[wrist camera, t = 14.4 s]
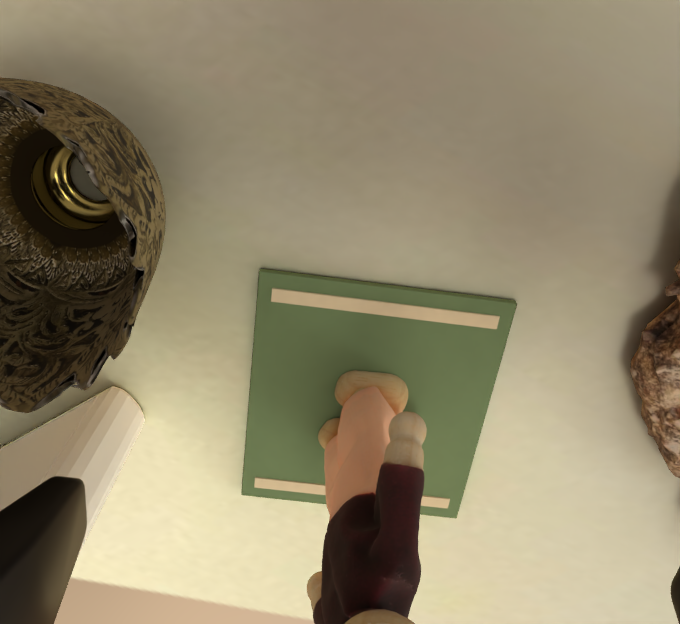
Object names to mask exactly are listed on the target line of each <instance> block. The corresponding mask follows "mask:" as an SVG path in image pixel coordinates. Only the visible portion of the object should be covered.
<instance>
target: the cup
mask: <svg viewBox="0 0 680 624" xmlns="http://www.w3.org/2000/svg"><path fill="white" fill-rule="evenodd" d="M75 156H76V157H77V158H78V160H79V161H80V163H81V164H82V165H83V166H84V168H85V170H86V172H87V173H88V175H89V177H90V179H91V180H92V182H93V183H94V185H95V186H96V187H97V188H98V189H99V190H100V191H101V192H102V193H103V194H104V195H105V196H106V197H107V198H108V199H107V200H103V201H95V200H91V199H88V198H86V197H84V196H83V195H81V194H80V193H79V192H78V191H77V190H76V189H75V187H74V186H73V184H72V182H71V180H70V176H69V167H70V163H71V161H72V159H73V158H74V157H75ZM164 234H165V203H164V196H163V191H162V187H161V184H160V181H159V177H158V175H157V172H156V170H155V168H154V165H153V163H152V161H151V160H150V158H149V156H148V154H147V153H146V151H145V150H144V148H143V147H142V145H141V144H140V142H139V141H138V140H137V139H136V137H135V136H134V135H133V134H132V133H131V132H130V130H129V129H128V128H127V127H126V126H125V125H124V124H122V123H121V122H120V121H119V120H118V119H117V118H116V117H114V116H113V115H112V114H111V113H109V112H108V111H107V110H105V109H104V108H102V107H101V106H99V105H97V104H96V103H94V102H92V101H90V100H88V99H86V98H84V97H82V96H80V95H78V94H75V93H73V92H70V91H68V90H65V89H63V88H59V87H55V86H52V85H48V84H43V83H39V82H33V81H26V80H19V79H10V78H0V405H1V406H2V407H4V408H6V409H9V410H13V411H18V412H24V413H29V412H32V411H35V410H37V409H39V408H41V407H42V406H44V405H46V404H47V403H49V402H50V401H52V400H53V399H55V398H56V397H58V396H59V395H61V394H62V392H63V391H65V390H66V389H67V388H69V387H70V386H71V385H72V386H73V387H76V388H80V389H81V390H86V389H87V388H89V387H90V386H91V385H92V384H93V383H94V381H95V379H96V378H97V376H98V374H99V372H100V370H101V368H102V366H103V365H104V363H105V361H106V360H107V358H108V357H109V356H111V357H112V358H113V360H114V359H115V358H117V356H118V355H119V354H120V353H121V352H122V350H123V348H124V347H125V345H126V343H127V342H128V340H129V337H130V334H131V330H132V326H134V323H135V319H136V316H137V313H138V311H139V309H140V306H141V304H142V302H143V299H144V297H145V295H146V292H147V290H148V287H149V285H150V283H151V280H152V278H153V275H154V272H155V270H156V267H157V264H158V261H159V257H160V254H161V250H162V246H163V240H164ZM75 382H77V385H73V384H74V383H75Z"/></svg>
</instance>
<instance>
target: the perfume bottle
mask: <svg viewBox="0 0 680 624" xmlns="http://www.w3.org/2000/svg"><path fill="white" fill-rule="evenodd" d="M144 423H145V420H144V414H143V412H142V410H141V408H140V406H139V405H138V403H137V402H136V401H135V400H134V399H133V398H132V397H131V395H130V394H128V393H127V392H126V391H124V390H123V389H121V388H118V387H114V386H112V387H110V388H108V389H106V390H105V391H103V392H101V393H99V394H97V395H96V396H94V397H92V398H90V399H88V400H87V401H85V402H83V403H81V404H79V405H78V406H76V407H74V408H72V409H70V410H69V411H67V412H65V413H63V414H61V415H60V416H58V417H56V418H54V419H52V420H51V421H49V422H47V423H45V424H43V425H42V426H40V427H38V428H36V429H34V430H33V431H31V432H29V433H27V434H25V435H24V436H22V437H20V438H18V439H16V440H15V441H13V442H11V443H9V444H7V445H6V446H4V447H2V448H0V511H1V510H3V509H4V508H5V507H7V506H8V505H10V504H11V503H13V502H14V501H16V500H17V499H19V498H20V497H22V496H23V495H25V494H26V493H28V492H29V491H31V490H32V489H34V488H35V487H37V486H38V485H40V484H41V483H43V482H44V481H46V480H47V479H49V478H51V477H54V476H63V477H72V478H79V479H81V480H82V481H83V483H84V485H85V497H86V512H87V528H86V533H85V537H84V540H83V543H82V546H81V548H80V551H81V549H82V547H83V545H84V543H85V541H86V539H87V537H88V535H89V533H90V531H91V529H92V527H93V525H94V523H95V521H96V519H97V517H98V515H99V513H100V511H101V509H102V507H103V505H104V503H105V501H106V499H107V497H108V495H109V493H110V491H111V489H112V487H113V485H114V483H115V481H116V479H117V477H118V475H119V473H120V471H121V469H122V467H123V465H124V463H125V461H126V459H127V457H128V455H129V453H130V451H131V449H132V447H133V445H134V443H135V441H136V439H137V437H138V435H139V433H140V431H141V429H142V427H143V425H144ZM80 551H79V553H80ZM78 555H79V554H78Z"/></svg>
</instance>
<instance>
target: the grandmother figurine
mask: <svg viewBox="0 0 680 624" xmlns="http://www.w3.org/2000/svg"><path fill="white" fill-rule="evenodd" d="M335 397H336V400H337V401H338V403H339V404H340V405H342V406H343V408H342V411H341V416H340V418H333V419H331V420H328V421H327V422H326V423H325V424H324V425H323V426H322V428H321V429H320V431H319V434H318V440H319V443H320V445H321V446H322V447H323V448H324V449H325V451H324V472H325V490H326V504H327V508H328V511H329V513H330V520H329V524H328V527H327V533H326V535H325V540H324V548H323V559H322V571H321V572H317V573H315V574H313V575H312V576H311V578H310V579H309V580H308V584H307V593H308V596H309V598H310V600H311V605H312V609H313V619H314V623H315V624H415V623H413V622H412V621H411V620H409V619H408V614H409V611H410V607H411V604H412V601H413V599H414V596H415V594H416V592H417V588H418V585H419V582H420V576H421V564H420V560H419V555H418V531H419V517H420V507H421V499H422V495H423V490H424V480H425V476H424V470H423V463H424V453H423V449H422V444H423V442H424V440H425V437H426V433H427V428H426V424H425V422H424V420H423V419H422V418H421V417H420V416H419V415H418V414H416V413H414V412H407V411H406V412H403V410H404V409H405V406H406V404H407V400H408V389H407V386H406V384H405V382H404V381H403V380H402V379H401V378H399V377H398V376H396V375H393V374H388V373H381V372H368V371H357V370H353V371H348V372H346V373H344V374H343V375H341V376H340V378H339V379H338V381H337V384H336V387H335Z"/></svg>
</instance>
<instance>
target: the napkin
mask: <svg viewBox="0 0 680 624" xmlns="http://www.w3.org/2000/svg"><path fill="white" fill-rule="evenodd" d="M516 306H517V303H516V301H515V300H507V299H499V298H492V297H484V296H476V295H468V294H460V293H452V292H444V291H436V290H428V289H420V288H412V287H404V286H396V285H388V284H380V283H372V282H364V281H356V280H348V279H340V278H332V277H324V276H316V275H308V274H301V273H293V272H285V271H277V270H269V269H260V271H259V279H258V292H257V305H256V317H255V330H254V343H253V355H252V368H251V380H250V393H249V406H248V418H247V431H246V444H245V456H244V469H243V481H242V495H246V496H256V497H265V498H274V499H283V500H293V501H302V502H311V503H320V504H326V490H325V472H324V451H325V449H324V448H323V447H322V446H321V445H320V443H319V440H318V434H319V431H320V429H321V428H322V426H323V425H324V424H325V423H326V422H327V421H328V420H331V419H333V418H340V416H341V411H342V408H343V406H342V405H340V404H339V403H338V401H337V400H336V397H335V387H336V384H337V381H338V379H339V378H340V376H341V375H343V374H344V373H346V372H348V371H353V370H357V371H368V372H381V373H388V374H393V375H396V376H398V377H399V378H401V379H402V380H403V381H404V382H405V384H406V386H407V389H408V400H407V404H406V406H405V409H404V410H403V412H406V411H407V412H414V413H416V414H418V415H419V416H420V417H421V418H422V419H423V420H424V422H425V424H426V428H427V433H426V437H425V440H424V442H423V444H422V449H423V453H424V463H423V470H424V476H425V480H424V490H423V495H422V499H421V507H420V514H421V515H431V516H440V517H449V518H457V514H458V511H459V507H460V504H461V500H462V497H463V493H464V489H465V486H466V482H467V479H468V475H469V472H470V468H471V465H472V461H473V458H474V454H475V451H476V447H477V444H478V440H479V437H480V433H481V429H482V426H483V422H484V419H485V415H486V412H487V408H488V405H489V401H490V398H491V394H492V391H493V387H494V384H495V380H496V377H497V373H498V369H499V366H500V362H501V359H502V355H503V352H504V348H505V345H506V341H507V338H508V334H509V331H510V327H511V324H512V320H513V316H514V313H515V309H516Z"/></svg>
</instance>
